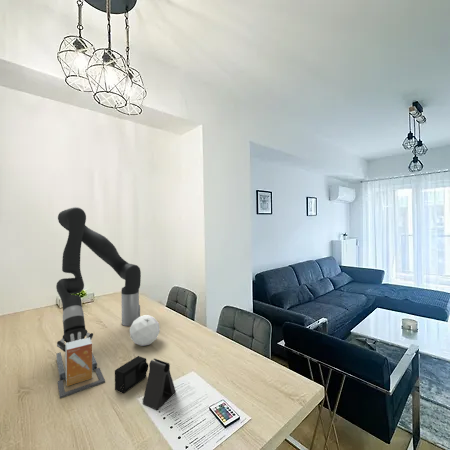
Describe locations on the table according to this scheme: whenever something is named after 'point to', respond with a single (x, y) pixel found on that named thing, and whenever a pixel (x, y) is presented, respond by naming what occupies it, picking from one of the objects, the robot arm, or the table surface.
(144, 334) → the geodesic sphere
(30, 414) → the table surface
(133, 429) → the table surface
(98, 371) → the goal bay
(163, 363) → the phone stand
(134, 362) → the digital camera
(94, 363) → the grey u-shaped frame
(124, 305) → the robot arm
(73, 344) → the small box
